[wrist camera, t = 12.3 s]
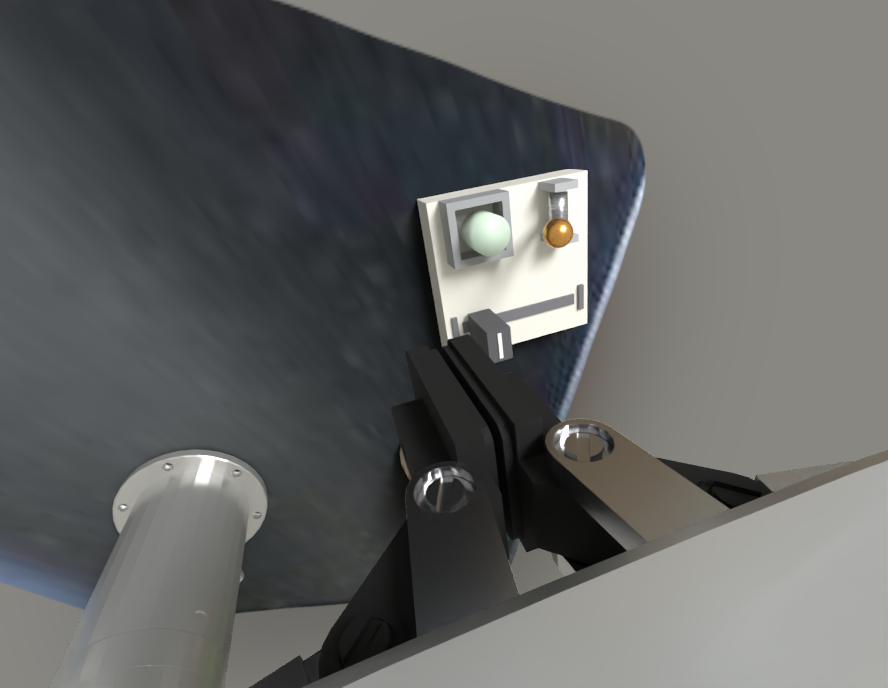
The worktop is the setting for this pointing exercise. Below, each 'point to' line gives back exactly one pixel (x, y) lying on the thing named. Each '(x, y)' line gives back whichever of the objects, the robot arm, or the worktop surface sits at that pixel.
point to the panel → (509, 258)
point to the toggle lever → (557, 220)
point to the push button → (485, 232)
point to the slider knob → (491, 334)
